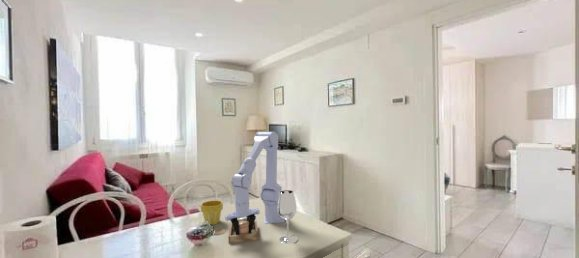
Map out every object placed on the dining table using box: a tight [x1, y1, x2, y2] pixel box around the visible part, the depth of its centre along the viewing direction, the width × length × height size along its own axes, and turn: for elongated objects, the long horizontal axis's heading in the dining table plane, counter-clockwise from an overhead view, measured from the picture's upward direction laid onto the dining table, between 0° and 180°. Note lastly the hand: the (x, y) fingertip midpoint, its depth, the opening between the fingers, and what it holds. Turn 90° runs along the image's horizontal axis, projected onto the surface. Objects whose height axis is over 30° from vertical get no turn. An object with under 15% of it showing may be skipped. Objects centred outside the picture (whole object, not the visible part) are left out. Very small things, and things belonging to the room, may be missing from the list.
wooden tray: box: [227, 220, 259, 244], centre depth 117 cm, size 12×14×3 cm
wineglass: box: [278, 189, 298, 244], centre depth 110 cm, size 8×8×20 cm
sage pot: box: [237, 216, 247, 222], centre depth 120 cm, size 5×5×6 cm
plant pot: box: [200, 199, 224, 226], centre depth 132 cm, size 10×10×10 cm
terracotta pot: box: [239, 221, 249, 235], centre depth 114 cm, size 5×5×6 cm
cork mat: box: [213, 228, 226, 236], centre depth 120 cm, size 7×7×1 cm
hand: (243, 233), depth 114 cm, fingers closed on terracotta pot, 5 cm apart
